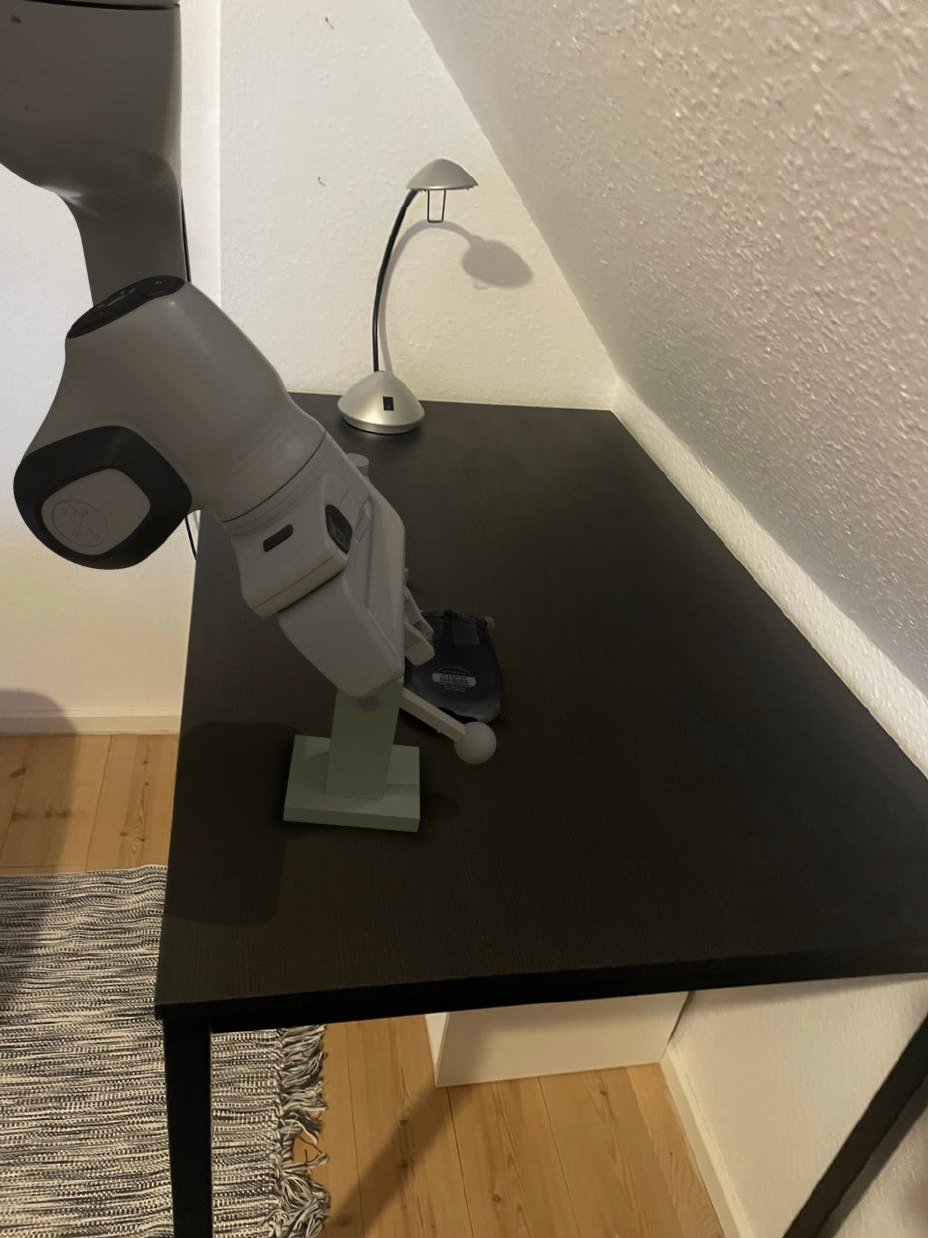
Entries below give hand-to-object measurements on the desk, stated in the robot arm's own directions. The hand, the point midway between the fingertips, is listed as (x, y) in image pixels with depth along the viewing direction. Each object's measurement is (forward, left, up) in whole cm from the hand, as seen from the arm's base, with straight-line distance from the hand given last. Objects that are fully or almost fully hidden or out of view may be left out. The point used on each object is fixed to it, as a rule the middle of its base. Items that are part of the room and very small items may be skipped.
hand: (426, 650), depth 67 cm
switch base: (-3, -2, -14) cm, 14 cm away
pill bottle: (-29, +34, -14) cm, 47 cm away
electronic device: (-4, +15, -14) cm, 21 cm away
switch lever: (0, 0, -7) cm, 7 cm away
